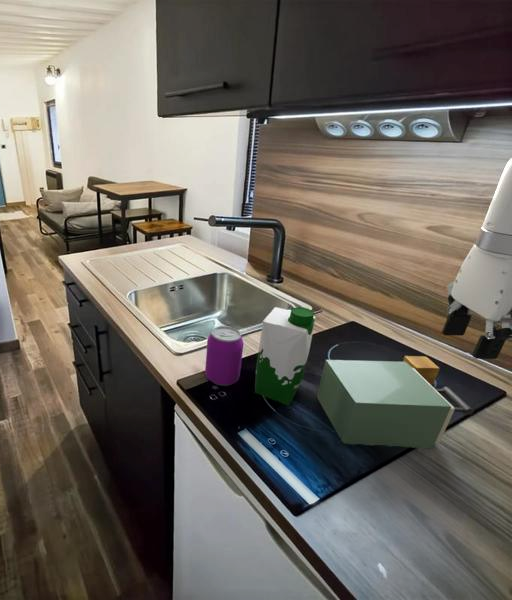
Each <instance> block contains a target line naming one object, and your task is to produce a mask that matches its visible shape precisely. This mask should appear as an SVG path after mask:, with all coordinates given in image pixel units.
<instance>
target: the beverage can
mask: <svg viewBox="0 0 512 600" xmlns="http://www.w3.org/2000/svg"><path fill="white" fill-rule="evenodd" d="M244 344H245V343H244V340H243V337H242V334H241V331H240V330H239V329H237V328H236V327H233V326H227V325H219V326H216V327H214V328H212V329H211V331H210V334H209V336H208V338H207V342H206V353H205V354H206V355H205V356H206V357H205V367H204V368H205V369H204V371H205V377H206V378H207V379H208V380H209V381H210V382H211V383H213V384H215V385H218V386H223V387H226V386H231V385H234V384H236V383H237V382H238V381H239V379H240V375H241V368H242V360H243V352H244Z"/></svg>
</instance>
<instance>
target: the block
mask: <svg viewBox="0 0 512 600" xmlns="http://www.w3.org/2000/svg"><path fill="white" fill-rule="evenodd" d="M402 362H406V363H408V364H409V365H410V366H411V367H412V368H414V369H415V370H416V371H417V372H418V373H419V374H420V375H421V376H422V377H423V378H424V379H425V380H426V381H427V382H428V383H429V384H430V385H431V386H434V383H435V381H436V378H437V376H438V374H439V372H440V369H441V368H440V367H439V366H438V365H436V363H434V362H433V361H432V360H431V359H430V358H428V357H427V356H423V355H422V356H420V355H419V356H418V355H404V357H403V359H402Z"/></svg>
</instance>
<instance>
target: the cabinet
mask: <svg viewBox="0 0 512 600" xmlns="http://www.w3.org/2000/svg"><path fill="white" fill-rule="evenodd" d="M431 386H432V385H431ZM431 386H430V385H429V384H428V383H427V382H426V381H425V380H424V379H423V378H422V377H421V376H420V375H419V374H418V373H417V372H416V371H415V370H414V369H413V368H412V367H411V366H410V365H409V364H408V363H406V362H403V361H394V360H393V361H392V360H391V361H390V360H389V361H388V360H386V361H385V360H355V359H354V360H351V359H350V360H349V359H347V360H346V359H325V362H324V366H323V370H322V375H321V378H320V383H319V387H318V391H317V395H316V398H317V400H318V402H319V404H320V405H321V407H322V409H323V411H324V412H325V414H326V416H327V417H328V420H329V421H330V423H331V425H332V427H333V428H334V430H335V432H336V434H337V436H338V438H339V439H340V438H341V439H340V441H341V443H342V442H343V443H345V444H344V445H356V444H364V445H363V446H374V445H388V446H387V447H392V446H403V447H402V448H410V447H411V449H413V448H414V449H430V450H431V449H433V448H434V446H435V444H436V443H435V442H436V440H437V438H438V435H439V433H440V431H441V429H442V426H443V424H444V422H445V420H446V418H447V415H448V413H449V411H450V409H451V406H450V405H449V404H448V403H447V402H446V401H445V400H444V399H443V398H442V397H441V396H440V395H439V394H438V393H437V392H436V391H435V390H434V389H435V388H434V387H433V386H432V387H433V388H434V389H433V388H432V387H431ZM343 443H342V444H343ZM346 443H347V444H346ZM389 445H391V446H389Z"/></svg>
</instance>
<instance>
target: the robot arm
mask: <svg viewBox="0 0 512 600" xmlns="http://www.w3.org/2000/svg"><path fill="white" fill-rule="evenodd" d="M445 288H446V293H447V295H448V296H447V302H448V307H447V309H446V310H447V311H446V312H447V313H448V316H447V318H446V320H445V323H444V325H443V328H442V330H441V334H442V335H443V336H456V337H457V336H458V337H459V336H464V335H465V334H466V331H467V329H468V326H469V324H470V322H471V320H472V315H471V314H470V313H471V312H472V311H473V312H474V313H476V314H477V315H478V316H481V317H482V318H484V319H485V334H484V335H481V334H480V336H479V338H478V340H477V342H476V345H475V347H474V349H473V352H472V353H471V354H472V356H471V357H473V358H474V359H476V360H478V359H480V360H496V359H497V358H498V357H499V355H500V353H501V351H502V349H503V347H504V345H505V342H506V340H512V158H511V157H510V159H509V160H508V162H507V163H506V165H505V167H504V169H503V172H502V174H501V176H500V179H499V182H498V183H497V187H496V190H495V192H494V194H493V196H492V200H491V202H490V204H489V206H488V210H487V213H486V215H485V217H484V220H483V222H482V225H481V228H480V230H479V233H478V236H477V238H476V241H475V244H473V245H472V247H471V248H470V250H469V251H468V254H467V255H466V257H465V259H464V260H463V262H462V264H461V266H460V268H459V271H458V273H457V275H456V277H455V279H454V281H452V282H450V283H447V284H446V286H445ZM498 323H499V324H500V323H501V328H499V329H497V328H498V326H497V324H498Z"/></svg>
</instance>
